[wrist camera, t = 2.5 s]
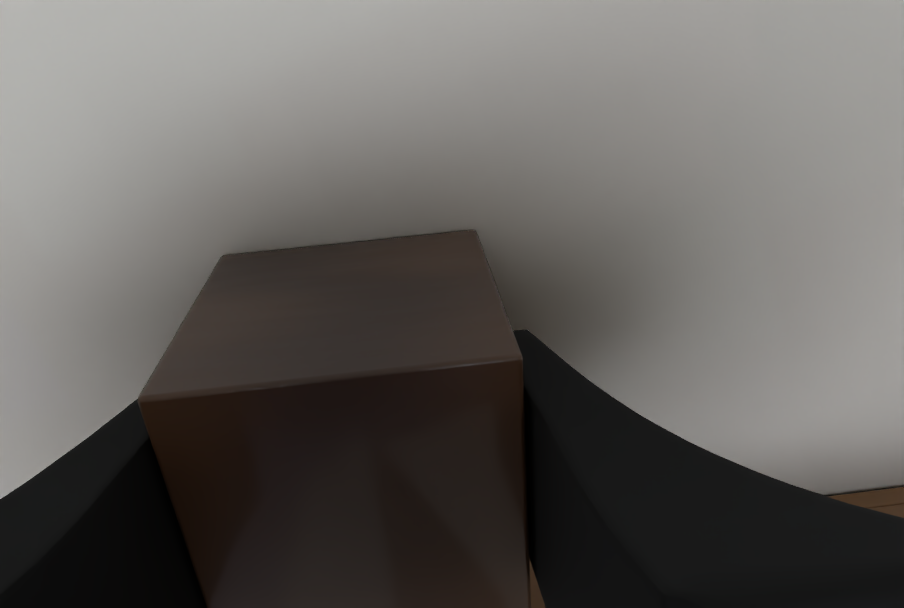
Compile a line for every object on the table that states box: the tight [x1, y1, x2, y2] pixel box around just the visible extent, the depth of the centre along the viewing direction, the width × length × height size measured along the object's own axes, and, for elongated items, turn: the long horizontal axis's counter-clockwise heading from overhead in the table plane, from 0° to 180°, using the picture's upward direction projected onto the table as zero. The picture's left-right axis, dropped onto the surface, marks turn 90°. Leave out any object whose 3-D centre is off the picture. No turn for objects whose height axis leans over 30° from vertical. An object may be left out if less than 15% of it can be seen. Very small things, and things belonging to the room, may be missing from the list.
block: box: [138, 230, 531, 608], centre depth 11 cm, size 4×4×4 cm
